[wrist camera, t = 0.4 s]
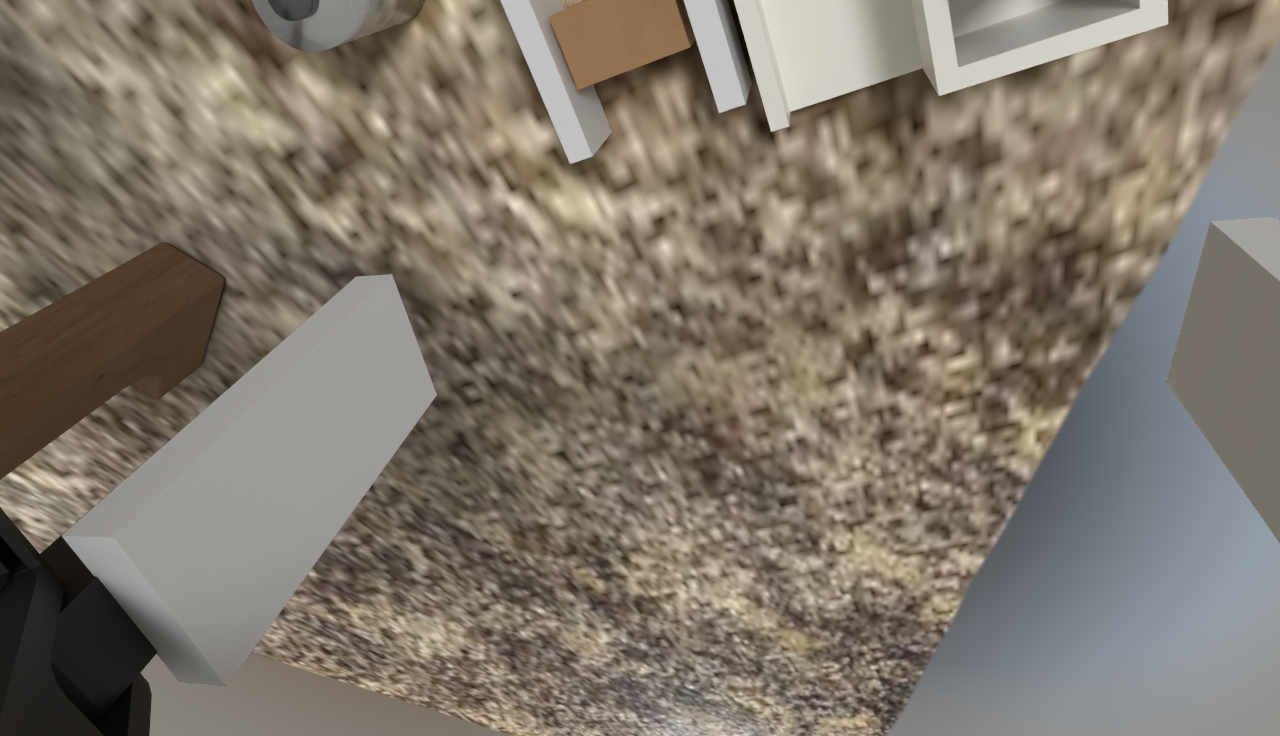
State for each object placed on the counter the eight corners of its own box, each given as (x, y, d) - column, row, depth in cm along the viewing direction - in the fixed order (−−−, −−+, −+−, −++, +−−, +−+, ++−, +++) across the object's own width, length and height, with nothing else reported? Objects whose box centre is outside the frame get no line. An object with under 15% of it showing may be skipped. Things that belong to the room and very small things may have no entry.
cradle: (515, -48, 33) (483, -40, 30) (690, -131, 30) (676, -132, 27) (591, 139, 38) (570, 164, 34) (751, 83, 35) (745, 104, 31)
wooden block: (203, 366, 52) (-34, 555, 38) (144, 332, 52) (-120, 512, 37) (229, 276, 47) (-33, 454, 33) (164, 237, 47) (-134, 401, 32)
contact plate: (564, 8, 33) (548, 16, 31) (674, -39, 32) (664, -34, 29) (591, 77, 35) (578, 89, 33) (697, 36, 33) (690, 47, 31)
